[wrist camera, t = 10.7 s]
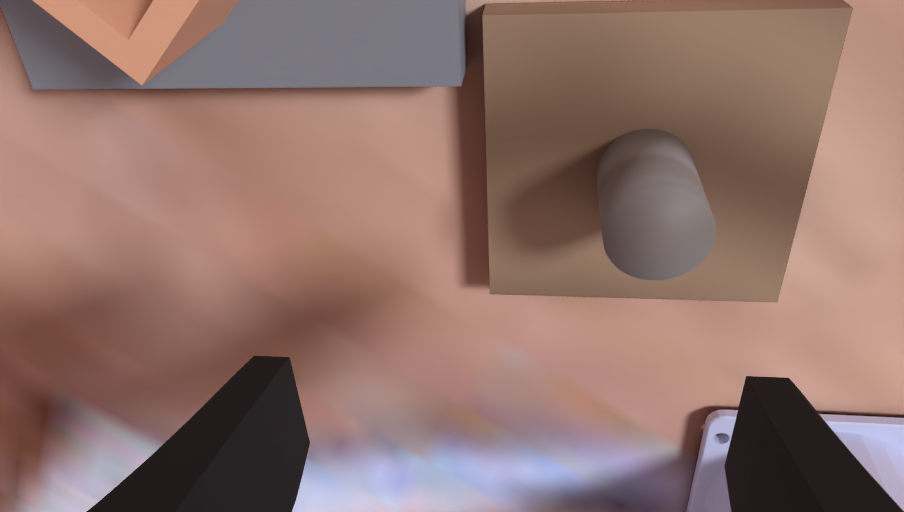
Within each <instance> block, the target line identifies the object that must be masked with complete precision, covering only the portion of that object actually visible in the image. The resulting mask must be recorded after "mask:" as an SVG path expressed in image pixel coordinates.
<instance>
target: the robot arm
mask: <svg viewBox="0 0 904 512" xmlns="http://www.w3.org/2000/svg"><path fill="white" fill-rule="evenodd" d="M719 433H724V434H722V435H716V434H719ZM309 444H310V441H309V437H308V433H307V429H306V425H305V420H304V416H303V412H302V408H301V404H300V400H299V395H298V391H297V387H296V383H295V379H294V374H293V370H292V366H291V362H290V358H289V357H269V356H254V357H253V358H251V359H250V360H249V361H248V362H247V363H246V364H245V365H244V366H243V367H242V368H241V369H240V370H239V371H238V372H237V373H236V374H235V375H234V376H233V377H232V378H231V379H230V380H229V381H228V382H227V383H226V384H225V385H224V386H223V387H222V388H221V389H220V390H219V391H218V392H217V393H216V394H215V395H214V396H213V397H212V398H211V399H210V400H209V401H208V402H207V403H206V404H205V405H204V406H203V407H202V408H201V409H200V410H199V411H198V412H197V413H196V414H195V415H194V416H193V417H192V418H191V419H189V420H188V421H187V422H186V423H185V424H184V425H183V426H182V427H181V428H180V429H179V430H178V431H177V432H176V433H175V434H174V435H173V436H172V437H171V438H170V439H169V440H167V441H166V442H165V443H164V444H163V445H162V446H161V447H160V448H159V449H158V450H157V451H156V452H155V453H154V454H153V455H152V456H151V457H149V458H148V459H147V460H146V461H145V462H144V463H143V464H142V465H140V466H139V467H138V468H137V469H136V470H135V471H134V472H133V473H131V474H130V475H129V476H128V477H127V478H126V479H125V480H123V481H122V482H121V483H120V484H119V485H118V486H117V487H115V488H114V489H113V490H112V491H111V492H110V493H109V494H108V495H106V496H105V497H104V498H103V499H102V500H100V501H99V502H98V503H97V504H96V505H94V506H93V507H92V508H91V509H90V510H88V511H87V512H292V509H293V506H294V504H295V501H296V497H297V493H298V489H299V486H300V482H301V478H302V474H303V470H304V465H305V461H306V457H307V453H308V448H309ZM686 512H904V418H895V417H874V416H852V415H831V414H819V413H818V412H817V411H816V410H815V408H814V407H813V406H812V405H811V404H810V402H809V401H808V400H807V399H806V397H805V396H804V395H803V394H802V393H801V391H800V390H799V389H798V388H797V387H796V385H795V384H794V383H793V382H792V381H791V380H790V379H789V378H776V377H752V376H746V380H745V384H744V388H743V392H742V396H741V400H740V404H739V408H738V410H725V409H723V410H716V411H714V412H712V413H710V414H709V415H708V416H707V418H706V421H705V426H704V431H703V436H702V440H701V445H700V450H699V455H698V459H697V464H696V469H695V474H694V478H693V483H692V488H691V492H690V497H689V502H688V507H687V511H686Z"/></svg>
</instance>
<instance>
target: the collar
mask: <svg viewBox="0 0 904 512" xmlns="http://www.w3.org/2000/svg"><path fill="white" fill-rule="evenodd" d="M33 1H34V2H35V3H36V4H38V5H39V6H40V7H42V8H43V9H44V10H45V11H47V12H48V13H49V14H51V15H52V16H53V17H54V18H56V19H57V20H58V21H60V22H61V23H62V24H63V25H65V26H66V27H67V28H69V29H70V30H71V31H72V32H74V33H75V34H76V35H78V36H79V37H80V38H81V39H83V40H84V41H85V42H87V43H88V44H89V45H90V46H92V47H93V48H94V49H96V50H97V51H98V52H100V53H101V54H102V55H103V56H105V57H106V58H107V59H109V60H110V61H111V62H112V63H114V64H115V65H116V66H118V67H119V68H120V69H121V70H123V71H124V72H125V73H127V74H128V75H129V76H130V77H132V78H133V79H134V80H136V81H137V82H138V83H139V84H141V85H143V84H145V83H146V82H147V81H149V80H150V79H151V78H152V77H154V76H155V75H156V74H158V73H159V72H160V71H162V70H163V69H164V68H166V67H167V66H168V65H169V64H171V63H172V62H173V61H175V60H176V59H177V58H179V57H180V56H181V55H183V54H184V53H185V52H186V51H188V50H189V49H190V48H192V47H193V46H194V45H196V44H197V43H198V42H199V41H201V40H202V39H203V38H205V37H206V36H207V35H209V34H210V33H211V32H213V31H214V30H215V29H216V28H218V27H219V26H220V25H222V24H223V23H224V21H225V20H226V19H227V17H228V16H229V14H230V13H231V11H232V10H233V9H234V7H235V6H236V4H237V3H238V2H239V0H33Z"/></svg>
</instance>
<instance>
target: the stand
mask: <svg viewBox="0 0 904 512" xmlns="http://www.w3.org/2000/svg"><path fill="white" fill-rule="evenodd" d="M852 10H853V8H852V7H851V6H850V5H849V4H847V3H846V2H845V1H843V0H631V1H586V2H540V3H494V4H485V8H484V11H483V15H482V19H483V56H484V94H485V131H486V168H487V206H488V243H489V280H490V294H503V295H538V296H572V297H607V298H642V299H676V300H711V301H745V302H777V301H778V297H779V294H780V290H781V286H782V282H783V278H784V274H785V270H786V266H787V262H788V259H789V255H790V251H791V247H792V243H793V239H794V235H795V231H796V227H797V224H798V220H799V216H800V212H801V208H802V204H803V200H804V196H805V193H806V189H807V185H808V181H809V177H810V173H811V169H812V165H813V161H814V158H815V154H816V150H817V146H818V142H819V138H820V134H821V130H822V126H823V123H824V119H825V115H826V111H827V107H828V103H829V99H830V95H831V92H832V88H833V84H834V80H835V76H836V72H837V68H838V64H839V60H840V57H841V53H842V49H843V45H844V41H845V37H846V33H847V29H848V25H849V22H850V18H851V14H852Z"/></svg>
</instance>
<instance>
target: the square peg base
mask: <svg viewBox="0 0 904 512" xmlns="http://www.w3.org/2000/svg"><path fill="white" fill-rule="evenodd" d="M0 7H1V9H2V12H3V14H4V17H5V20H6V22H7V25H8V27H9V30H10V32H11V35H12V37H13V40H14V42H15V45H16V47H17V50H18V52H19V55H20V57H21V60H22V62H23V65H24V68H25V70H26V73H27V75H28V78H29V80H30V83H31V85H32V88H33V90H40V89H175V88H309V87H444V86H462V82H463V79H464V75H465V72H466V68H467V40H466V15H465V0H239V2H238V3H237V4H236V6H235V7H234V9H233V10H232V11H231V13H230V14H229V16H228V17H227V19H226V20H225V21H224V23H223V24H222V25H220V26H219V27H218V28H216V29H215V30H214V31H213V32H211V33H210V34H209V35H207V36H206V37H205V38H203V39H202V40H201V41H199V42H198V43H197V44H196V45H194V46H193V47H192V48H190V49H189V50H188V51H186V52H185V53H184V54H183V55H181V56H180V57H179V58H177V59H176V60H175V61H173V62H172V63H171V64H169V65H168V66H167V67H166V68H164V69H163V70H162V71H160V72H159V73H158V74H156V75H155V76H154V77H152V78H151V79H150V80H149V81H147V82H146V83H145V84H143V85H141V84H139V83H138V82H137V81H136V80H134V79H133V78H132V77H130V76H129V75H128V74H127V73H125V72H124V71H123V70H121V69H120V68H119V67H118V66H116V65H115V64H114V63H112V62H111V61H110V60H109V59H107V58H106V57H105V56H103V55H102V54H101V53H100V52H98V51H97V50H96V49H94V48H93V47H92V46H90V45H89V44H88V43H87V42H85V41H84V40H83V39H81V38H80V37H79V36H78V35H76V34H75V33H74V32H72V31H71V30H70V29H69V28H67V27H66V26H65V25H63V24H62V23H61V22H60V21H58V20H57V19H56V18H54V17H53V16H52V15H51V14H49V13H48V12H47V11H45V10H44V9H43V8H42V7H40V6H39V5H38V4H36V3H35V2H34V1H33V0H0Z"/></svg>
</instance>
